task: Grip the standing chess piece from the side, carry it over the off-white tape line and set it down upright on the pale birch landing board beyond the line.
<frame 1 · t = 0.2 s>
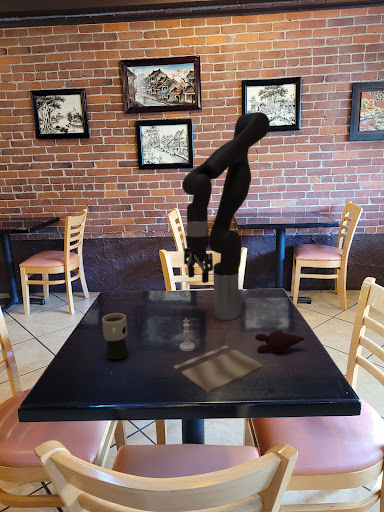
hand: (198, 279, 132), 17 cm above the table, tool pointing down, fingers open, 8 cm apart
character mug: (117, 357, 117), on the table
chess piece: (187, 348, 121), on the table
dark brown lumpy figurine: (279, 351, 117), on the table
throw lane: (222, 370, 107), on the table
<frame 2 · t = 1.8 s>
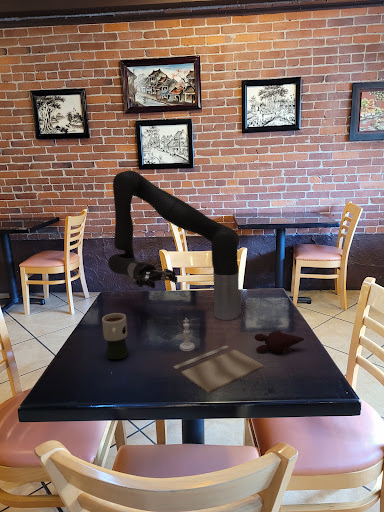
hand: (165, 282, 125), 19 cm above the table, tool horizontal, fingers open, 8 cm apart
nothing on the table moved.
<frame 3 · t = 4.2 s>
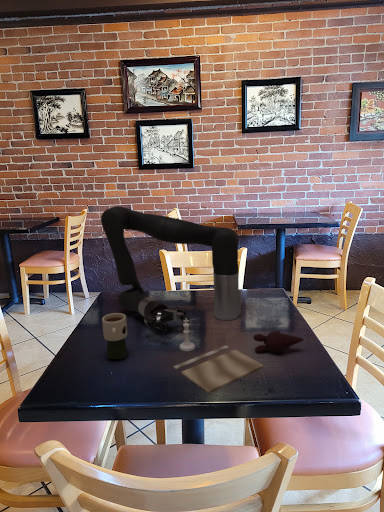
hand: (177, 324, 124), 6 cm above the table, tool horizontal, fingers open, 8 cm apart
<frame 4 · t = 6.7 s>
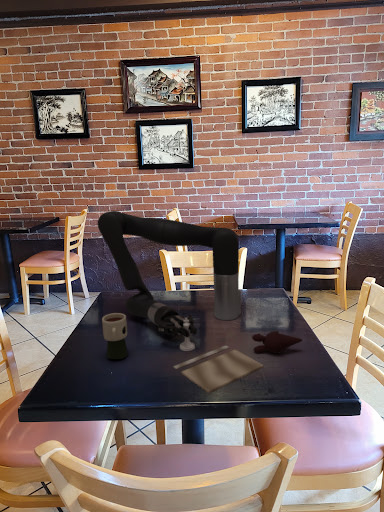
hand: (192, 333, 117), 6 cm above the table, tool horizontal, fingers closed on chess piece
chess piece: (187, 347, 121), on the table, touching gripper
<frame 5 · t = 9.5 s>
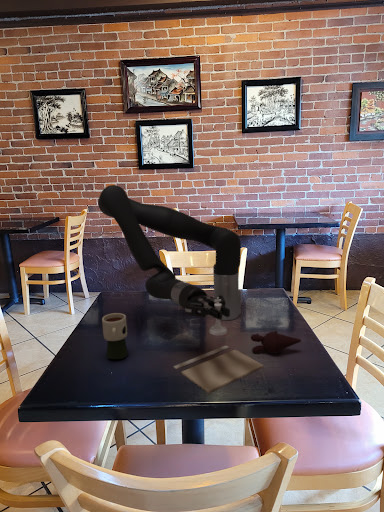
hand: (224, 314, 101), 18 cm above the table, tool horizontal, fingers closed on chess piece
chess piece: (218, 332, 105), point 12 cm above the table, touching gripper
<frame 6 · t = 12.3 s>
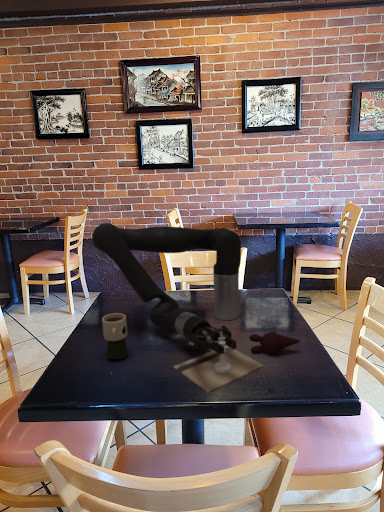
hand: (229, 348, 103), 8 cm above the table, tool horizontal, fingers open, 4 cm apart
chess piece: (222, 368, 107), resting on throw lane
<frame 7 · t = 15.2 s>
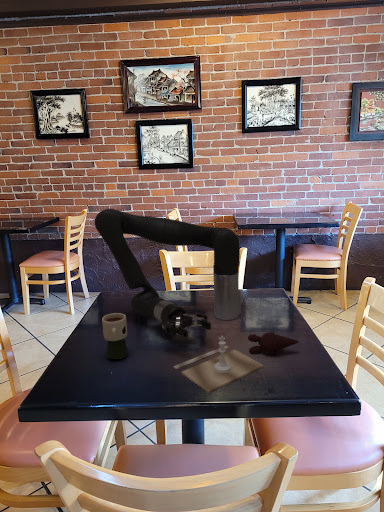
hand: (198, 330, 114), 8 cm above the table, tool horizontal, fingers open, 8 cm apart
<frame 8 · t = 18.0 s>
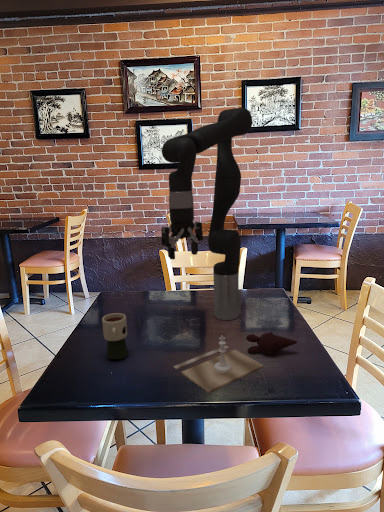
hand: (183, 256, 121), 28 cm above the table, tool pointing down, fingers open, 8 cm apart
at the end: chess piece inside the target area on the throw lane (0.1 cm from its centre), point 0.4 cm above the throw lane's base; chess piece tilted 0°; the gripper is holding nothing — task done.
